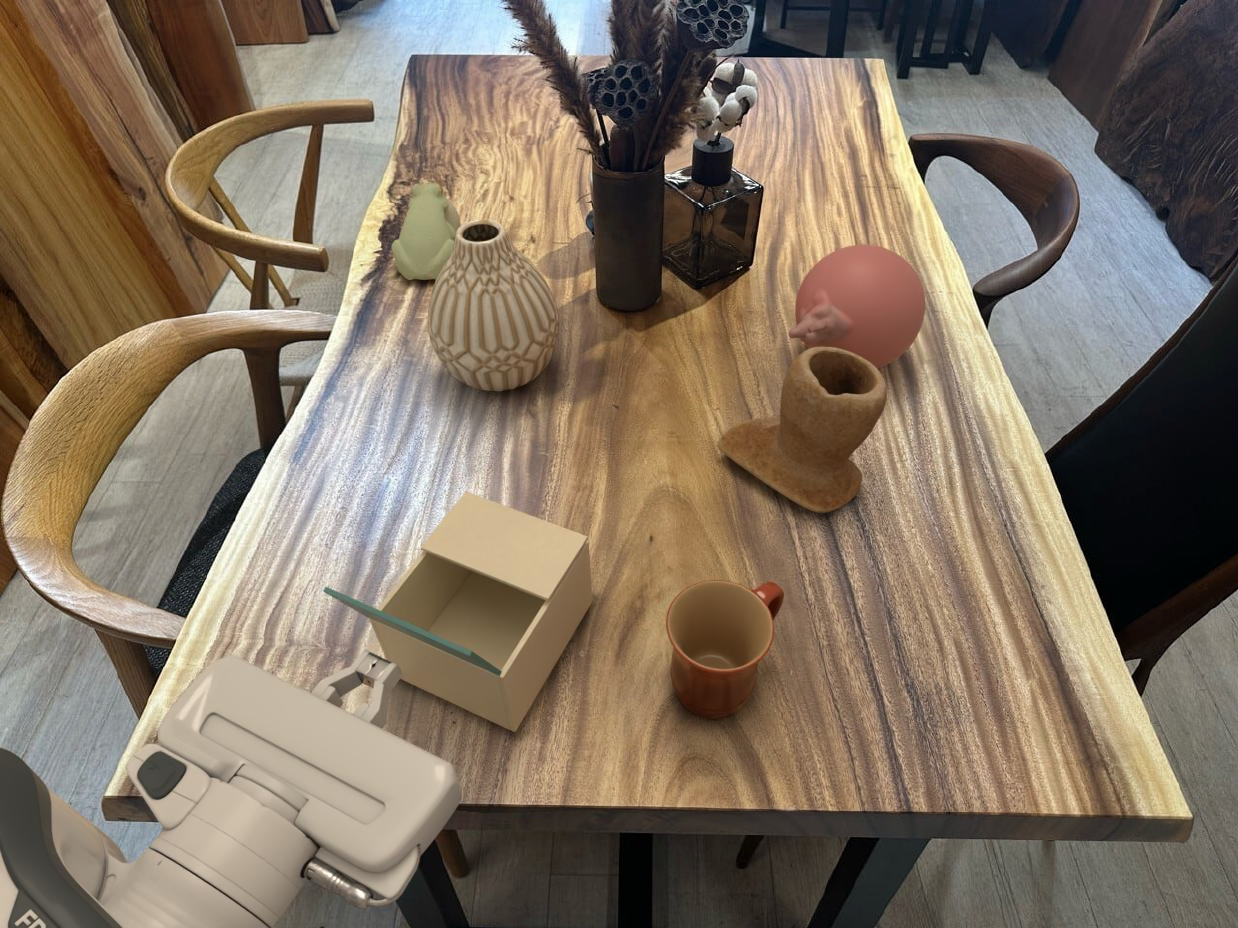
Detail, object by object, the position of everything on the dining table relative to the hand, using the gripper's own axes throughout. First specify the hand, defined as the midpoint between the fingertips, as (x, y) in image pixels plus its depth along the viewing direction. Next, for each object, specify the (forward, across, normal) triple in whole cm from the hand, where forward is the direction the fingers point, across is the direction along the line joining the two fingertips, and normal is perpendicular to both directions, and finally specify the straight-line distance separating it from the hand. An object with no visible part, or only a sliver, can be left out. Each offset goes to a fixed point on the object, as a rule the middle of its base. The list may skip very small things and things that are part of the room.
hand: (384, 661), depth 58 cm
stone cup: (+46, -19, +15) cm, 52 cm away
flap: (+4, 0, +1) cm, 4 cm away
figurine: (+66, +44, +15) cm, 81 cm away
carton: (+12, 0, +15) cm, 19 cm away
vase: (+47, +21, +15) cm, 53 cm away
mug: (+18, -21, +15) cm, 31 cm away
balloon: (+66, -18, +15) cm, 70 cm away
